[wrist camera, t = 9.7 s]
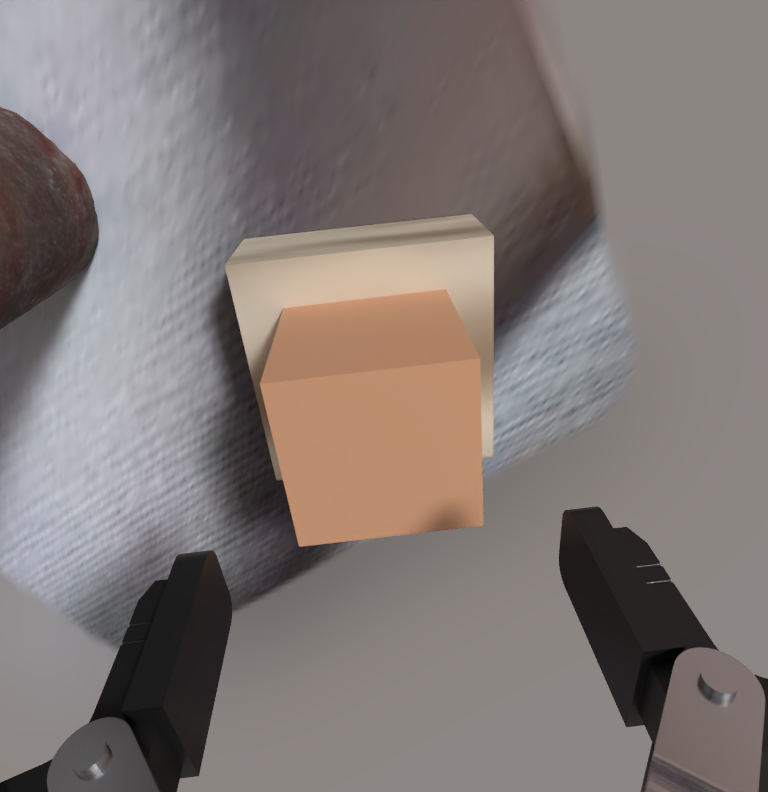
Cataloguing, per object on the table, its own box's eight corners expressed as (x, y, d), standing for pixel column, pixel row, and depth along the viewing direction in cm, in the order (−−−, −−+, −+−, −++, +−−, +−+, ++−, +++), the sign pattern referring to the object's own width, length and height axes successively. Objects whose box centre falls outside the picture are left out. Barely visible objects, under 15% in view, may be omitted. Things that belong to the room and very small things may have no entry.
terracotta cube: (283, 308, 20) (260, 384, 15) (445, 288, 20) (480, 358, 15) (310, 443, 23) (299, 547, 18) (452, 426, 23) (483, 525, 18)
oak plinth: (243, 239, 23) (224, 265, 19) (471, 213, 23) (493, 235, 19) (285, 430, 27) (276, 480, 24) (474, 410, 27) (493, 456, 24)
